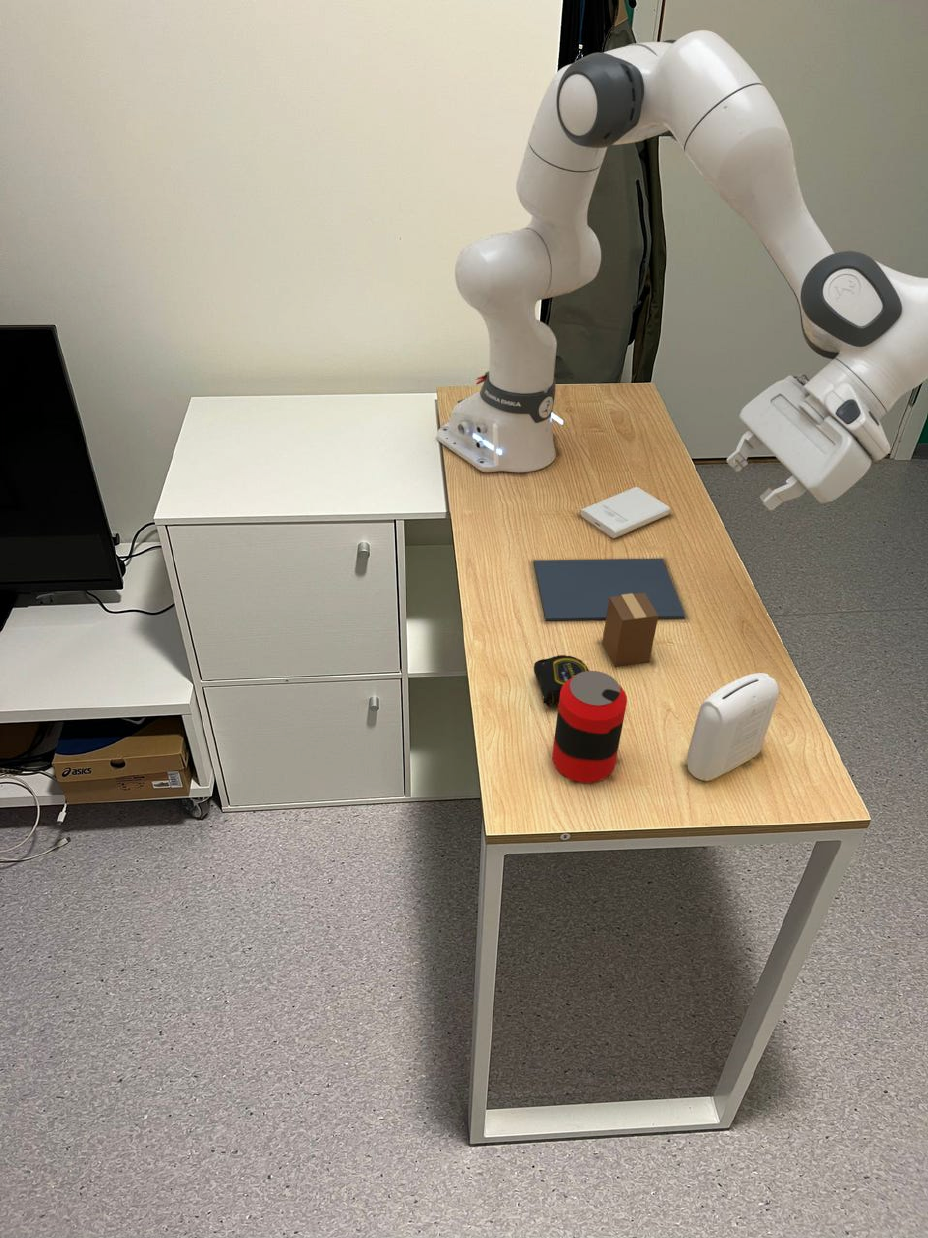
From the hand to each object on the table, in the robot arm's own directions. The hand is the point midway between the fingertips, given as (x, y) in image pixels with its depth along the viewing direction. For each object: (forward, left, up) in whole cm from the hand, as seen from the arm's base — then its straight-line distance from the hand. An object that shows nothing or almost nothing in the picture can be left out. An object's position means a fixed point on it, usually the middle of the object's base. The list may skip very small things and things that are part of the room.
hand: (747, 485), depth 118 cm
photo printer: (+13, -18, -25) cm, 34 cm away
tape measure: (-8, -23, -25) cm, 35 cm away
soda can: (+1, -30, -25) cm, 39 cm away
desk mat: (-17, 0, -25) cm, 30 cm away
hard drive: (-27, +18, -25) cm, 41 cm away
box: (-7, -10, -25) cm, 28 cm away
